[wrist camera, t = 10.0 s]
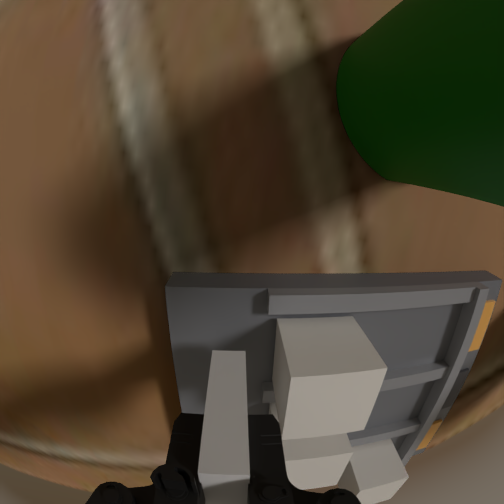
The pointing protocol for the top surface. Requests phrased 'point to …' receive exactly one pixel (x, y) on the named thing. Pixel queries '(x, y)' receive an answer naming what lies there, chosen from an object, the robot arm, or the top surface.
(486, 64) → the motor
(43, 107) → the top surface
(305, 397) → the light grey cube block
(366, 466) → the tab
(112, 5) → the top surface
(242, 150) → the top surface
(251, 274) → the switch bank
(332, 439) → the light grey cube
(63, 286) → the top surface
